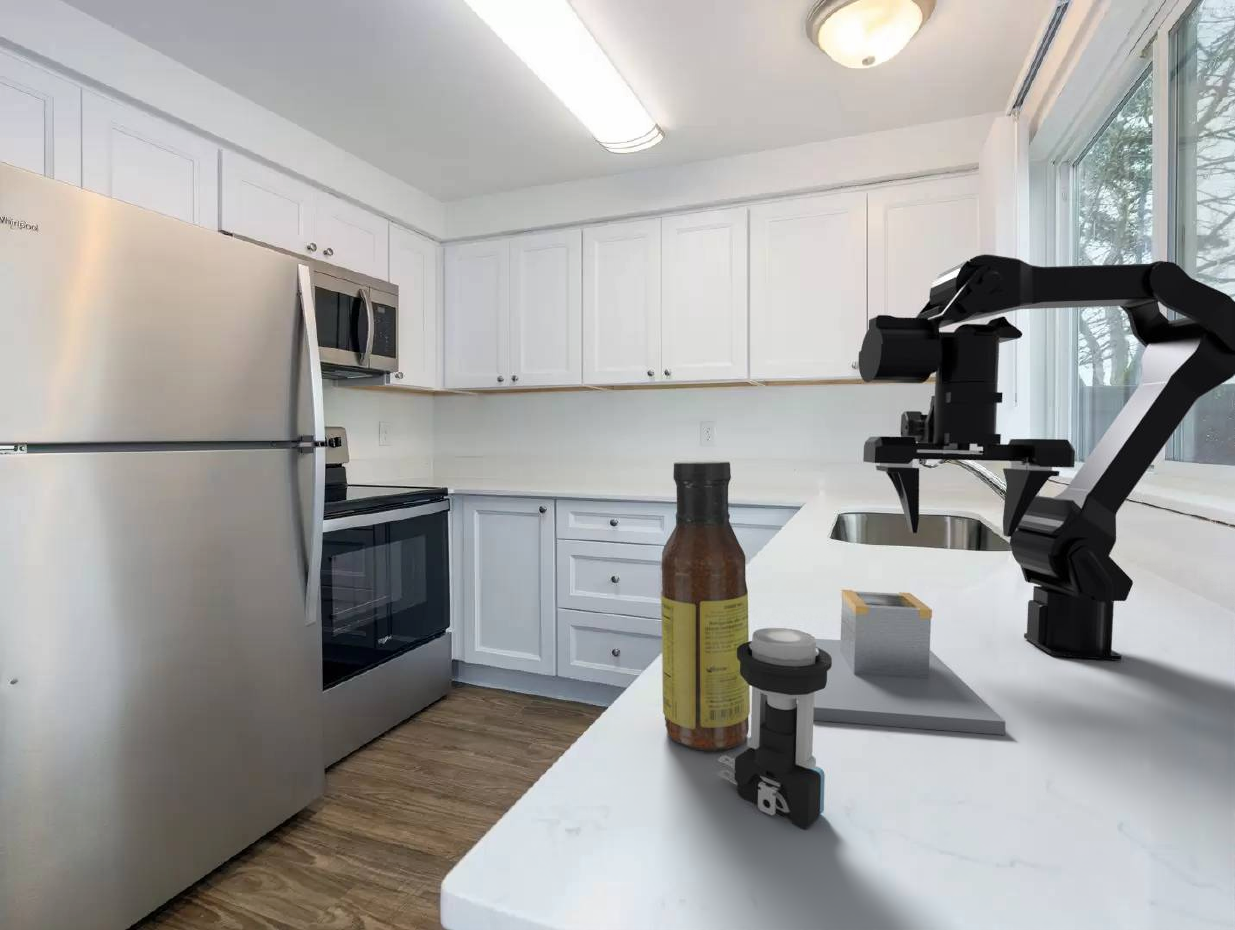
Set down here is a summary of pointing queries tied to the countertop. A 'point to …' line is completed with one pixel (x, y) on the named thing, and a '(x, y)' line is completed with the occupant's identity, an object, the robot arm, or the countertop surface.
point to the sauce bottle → (704, 614)
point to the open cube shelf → (885, 634)
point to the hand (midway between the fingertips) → (960, 534)
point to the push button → (781, 725)
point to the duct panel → (902, 699)
